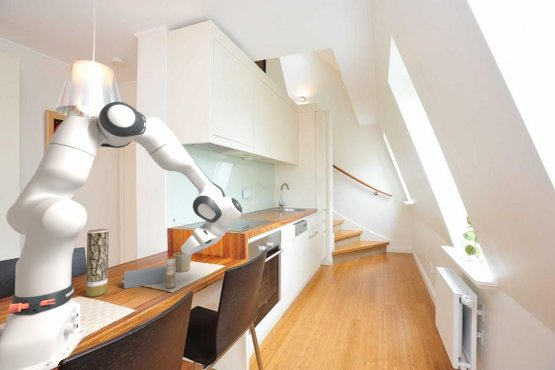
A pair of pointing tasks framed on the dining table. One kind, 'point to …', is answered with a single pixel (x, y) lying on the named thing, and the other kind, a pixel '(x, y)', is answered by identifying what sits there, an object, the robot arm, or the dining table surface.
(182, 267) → the flower pot
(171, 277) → the dowel
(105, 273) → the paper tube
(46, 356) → the robot arm
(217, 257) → the dining table surface
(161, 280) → the grey rectangular block
